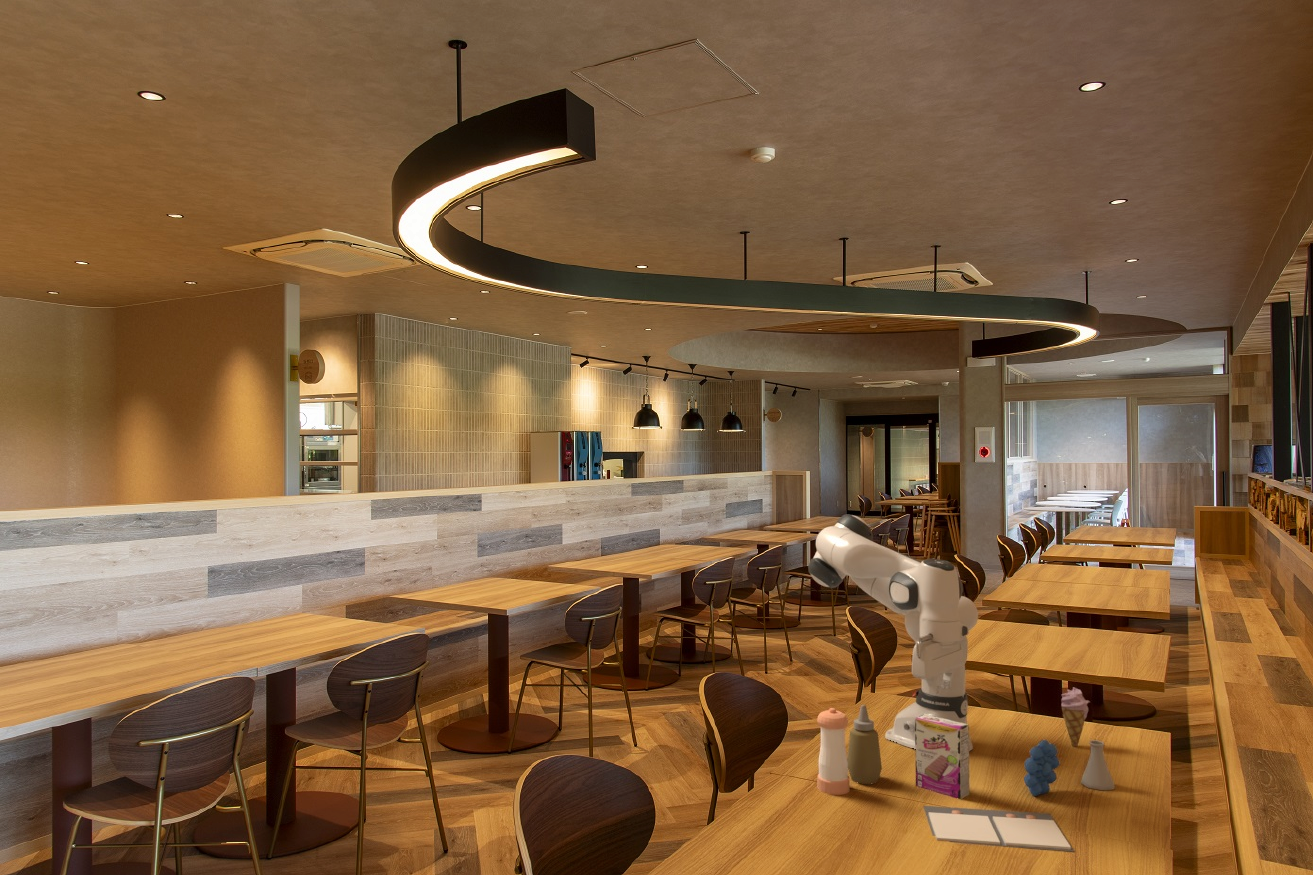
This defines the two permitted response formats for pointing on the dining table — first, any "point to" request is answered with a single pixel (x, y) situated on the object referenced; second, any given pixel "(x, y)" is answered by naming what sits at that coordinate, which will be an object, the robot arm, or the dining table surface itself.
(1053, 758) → the grapes
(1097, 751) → the flask
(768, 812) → the dining table surface
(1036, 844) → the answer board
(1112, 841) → the dining table surface
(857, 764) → the squeeze bottle
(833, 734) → the pepper shaker
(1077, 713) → the ice cream cone
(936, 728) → the candy bar box
